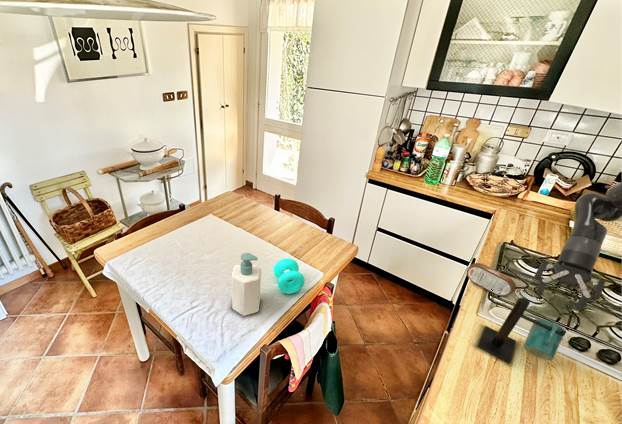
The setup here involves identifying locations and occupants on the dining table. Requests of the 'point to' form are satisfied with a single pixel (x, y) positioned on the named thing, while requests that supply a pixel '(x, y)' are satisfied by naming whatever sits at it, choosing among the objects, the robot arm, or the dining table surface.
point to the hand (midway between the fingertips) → (558, 301)
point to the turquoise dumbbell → (288, 276)
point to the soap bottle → (246, 286)
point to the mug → (543, 340)
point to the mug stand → (507, 333)
